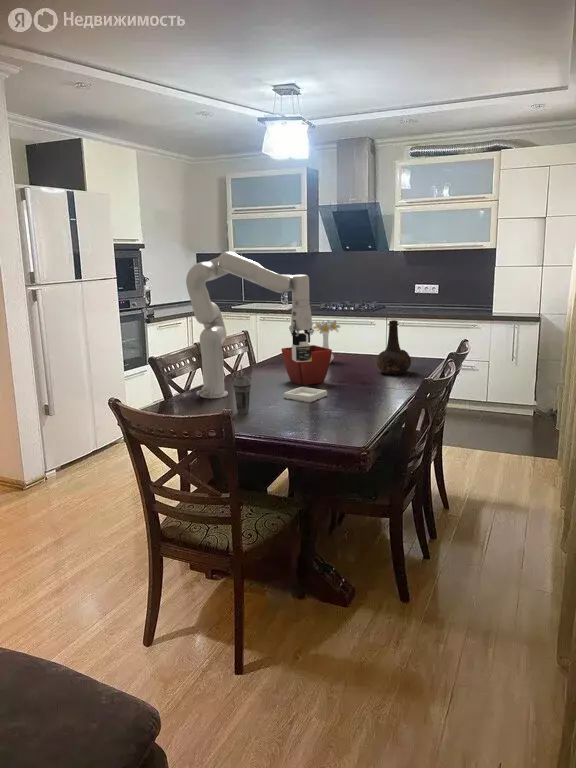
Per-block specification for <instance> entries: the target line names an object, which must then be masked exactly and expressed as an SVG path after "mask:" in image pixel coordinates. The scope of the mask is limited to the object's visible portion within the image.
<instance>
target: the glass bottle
mask: <svg viewBox="0 0 576 768" xmlns="http://www.w3.org/2000/svg"><path fill="white" fill-rule="evenodd" d="M388 321H389V322H388V324H387V326H388V337H387V338H388V339H387V345H386V348H385V350H382V351H381V352H380V353H379V354H378V355H377V357H376V361H375V362H376V365H377V368H378V370H379V371H380V372H382V373H384V374H386V375H390V374H392V376H393V375H397V374H398V375H402V374H404V373H406V372H407V371H408V370H409V369H410V368H411V364H412V359H411V357H410V354H409V353H408V352H407V351H406V350H405V349H401V347H400V341H399V330H398V326H399V325H400V323H399V321H398V320H396V319H395V320H393V319H392V320H388Z"/></svg>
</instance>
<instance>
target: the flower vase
mask: <svg viewBox="0 0 576 768" xmlns="http://www.w3.org/2000/svg"><path fill="white" fill-rule="evenodd" d="M326 321H327V322H325V320H322V322H321V321H319V322H318V321H315V323H314V325H315V326H312V329H311V333H310V336H312V335H314V334H315V333H316V332H318V331H319V333H318V334H319V335H320V334H322V347H324V348H328V349H330V348H329V334H330V332H333V331H335V332H336V333H339V329H340V328H341V325H338V324H337V320H336V319H335V320H333V321H331V320H330V319H327V320H326ZM334 358H335V357H334V354H333V353H332V354H331V360H330V364H331V363H332V361H333V360H334Z"/></svg>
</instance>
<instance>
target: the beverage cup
mask: <svg viewBox="0 0 576 768" xmlns="http://www.w3.org/2000/svg"><path fill="white" fill-rule="evenodd" d="M232 385H233V391H234V397H235V403H236V404H235V405H236V411H237V412H238V413H239V414H238V413H237V414H238V415H246V414H245V413H247V414H248V413H249V409H250V394H251V386H252V384H251V380H250V378H249V377H248V376H247V375H244V374H243V365H242V364H240V375H237V376H236V377H235V378H234V379H233V384H232Z"/></svg>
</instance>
